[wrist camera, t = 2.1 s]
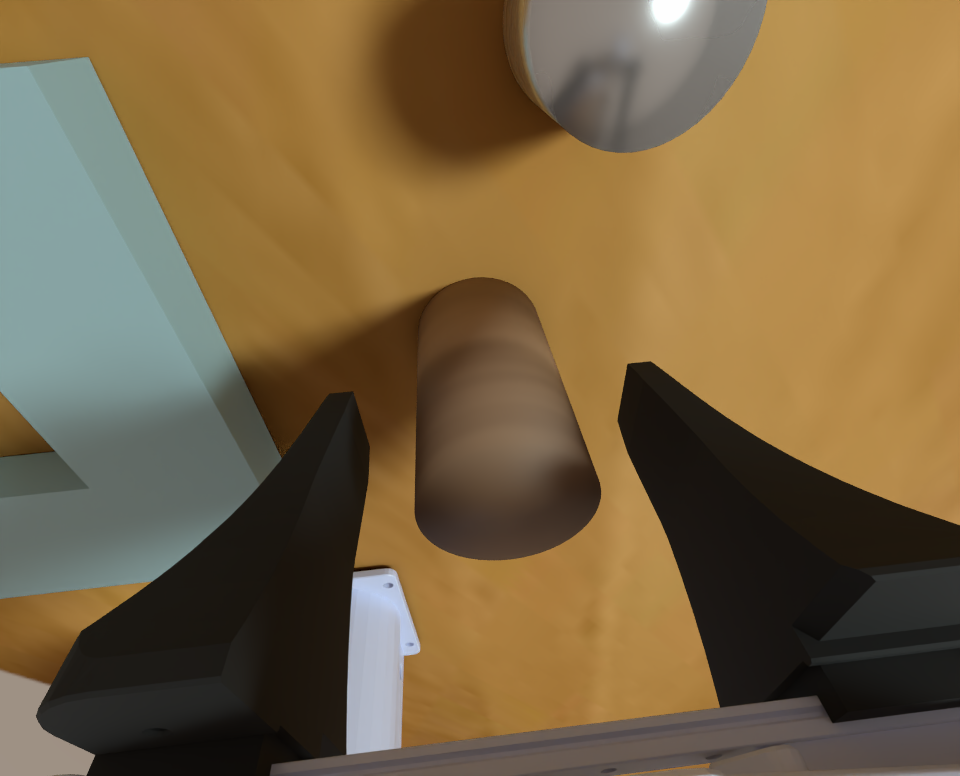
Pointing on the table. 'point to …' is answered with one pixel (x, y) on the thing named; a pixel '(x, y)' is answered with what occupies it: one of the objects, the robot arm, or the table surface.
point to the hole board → (105, 354)
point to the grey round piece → (628, 63)
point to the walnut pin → (495, 429)
